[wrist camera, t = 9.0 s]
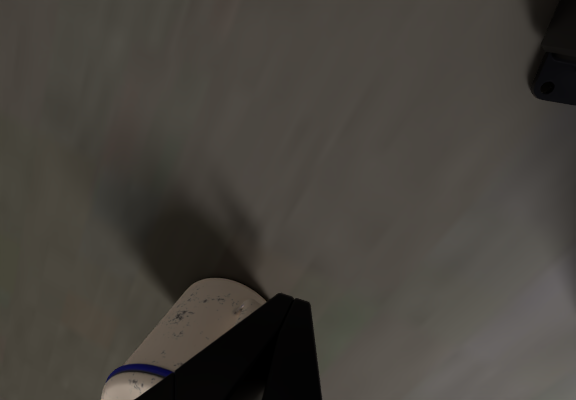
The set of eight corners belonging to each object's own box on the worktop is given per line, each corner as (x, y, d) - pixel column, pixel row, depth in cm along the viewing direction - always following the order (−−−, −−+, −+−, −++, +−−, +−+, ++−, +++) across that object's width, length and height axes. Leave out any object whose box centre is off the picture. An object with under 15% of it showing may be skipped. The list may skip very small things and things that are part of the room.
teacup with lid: (250, 376, 30) (174, 547, 20) (166, 314, 30) (47, 456, 20) (332, 304, 24) (280, 499, 14) (227, 225, 24) (98, 367, 14)
